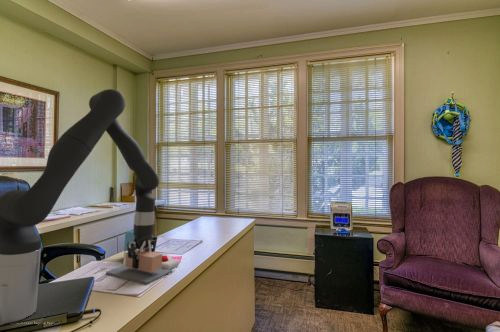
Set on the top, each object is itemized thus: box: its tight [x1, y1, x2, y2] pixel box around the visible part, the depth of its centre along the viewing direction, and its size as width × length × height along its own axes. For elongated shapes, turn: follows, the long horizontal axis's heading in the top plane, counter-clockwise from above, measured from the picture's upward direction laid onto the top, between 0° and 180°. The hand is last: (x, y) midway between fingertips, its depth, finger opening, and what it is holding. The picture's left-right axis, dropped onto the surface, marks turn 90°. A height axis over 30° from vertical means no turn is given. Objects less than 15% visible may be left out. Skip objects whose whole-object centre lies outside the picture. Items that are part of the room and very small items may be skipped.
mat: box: [105, 265, 173, 285], centre depth 108 cm, size 14×20×1 cm
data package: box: [123, 230, 144, 253], centre depth 125 cm, size 12×4×12 cm, turn 68°
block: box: [122, 249, 163, 273], centre depth 107 cm, size 6×6×14 cm
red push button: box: [161, 255, 180, 270], centre depth 118 cm, size 12×4×10 cm
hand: (141, 265), depth 107 cm, fingers closed on block, 5 cm apart
